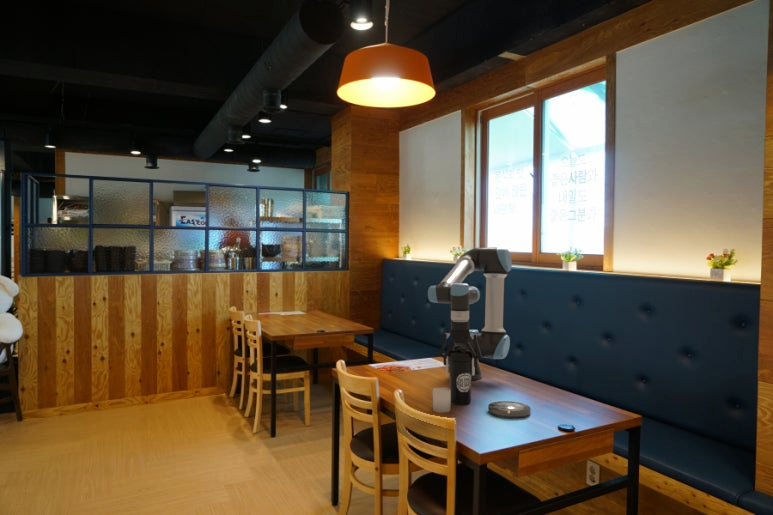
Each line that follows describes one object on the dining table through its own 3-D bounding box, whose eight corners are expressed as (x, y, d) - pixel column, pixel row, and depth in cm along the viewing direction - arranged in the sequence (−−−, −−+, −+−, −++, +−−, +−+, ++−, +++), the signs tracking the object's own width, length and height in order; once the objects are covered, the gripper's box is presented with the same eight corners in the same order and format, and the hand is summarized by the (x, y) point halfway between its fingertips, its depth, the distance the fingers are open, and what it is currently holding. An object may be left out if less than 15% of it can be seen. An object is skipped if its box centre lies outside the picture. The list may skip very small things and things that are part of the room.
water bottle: (453, 406, 209) (453, 349, 209) (444, 399, 219) (444, 345, 218) (476, 404, 212) (476, 348, 211) (466, 397, 221) (466, 344, 221)
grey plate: (489, 404, 211) (489, 399, 211) (530, 407, 207) (530, 402, 207) (487, 417, 196) (487, 411, 196) (530, 420, 192) (530, 414, 192)
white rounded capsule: (434, 406, 209) (434, 386, 209) (451, 407, 208) (451, 387, 207) (431, 411, 203) (431, 391, 202) (449, 413, 201) (449, 392, 201)
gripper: (431, 321, 214) (431, 374, 214) (487, 322, 208) (487, 377, 208) (434, 318, 221) (434, 370, 221) (488, 320, 215) (488, 373, 216)
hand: (460, 373), depth 215 cm, fingers closed on water bottle, 10 cm apart
